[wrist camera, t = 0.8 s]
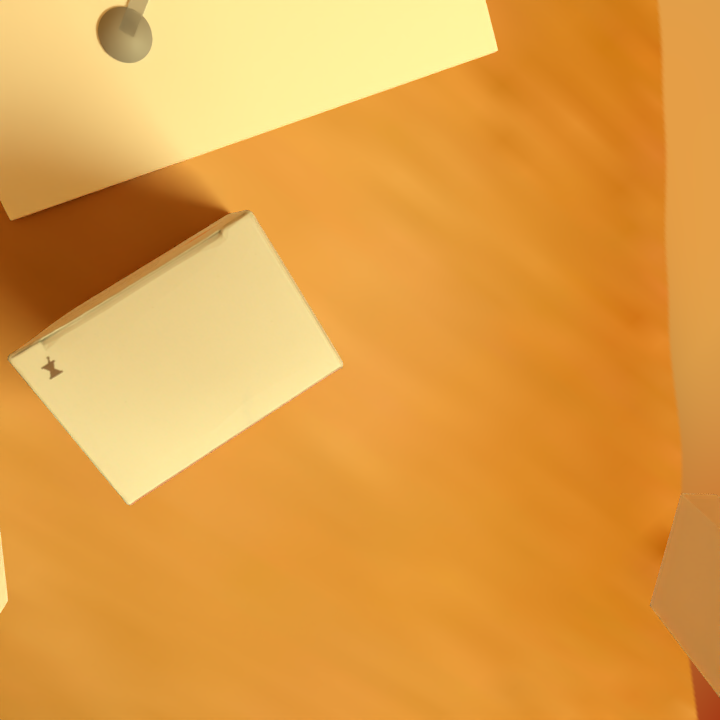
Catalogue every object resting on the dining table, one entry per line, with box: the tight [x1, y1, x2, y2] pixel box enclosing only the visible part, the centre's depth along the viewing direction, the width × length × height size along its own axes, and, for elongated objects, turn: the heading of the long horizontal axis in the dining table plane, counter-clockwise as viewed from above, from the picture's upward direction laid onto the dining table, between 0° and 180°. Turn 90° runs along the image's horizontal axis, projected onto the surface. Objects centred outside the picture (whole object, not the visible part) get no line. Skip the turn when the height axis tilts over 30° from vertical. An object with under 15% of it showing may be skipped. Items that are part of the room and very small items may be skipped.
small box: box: [8, 210, 343, 505], centre depth 23 cm, size 8×6×10 cm
